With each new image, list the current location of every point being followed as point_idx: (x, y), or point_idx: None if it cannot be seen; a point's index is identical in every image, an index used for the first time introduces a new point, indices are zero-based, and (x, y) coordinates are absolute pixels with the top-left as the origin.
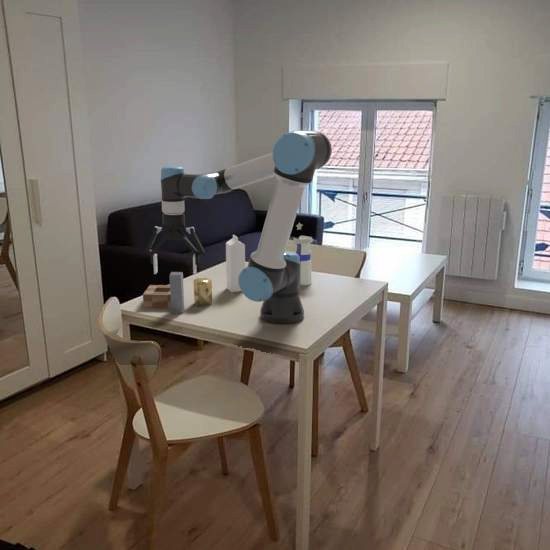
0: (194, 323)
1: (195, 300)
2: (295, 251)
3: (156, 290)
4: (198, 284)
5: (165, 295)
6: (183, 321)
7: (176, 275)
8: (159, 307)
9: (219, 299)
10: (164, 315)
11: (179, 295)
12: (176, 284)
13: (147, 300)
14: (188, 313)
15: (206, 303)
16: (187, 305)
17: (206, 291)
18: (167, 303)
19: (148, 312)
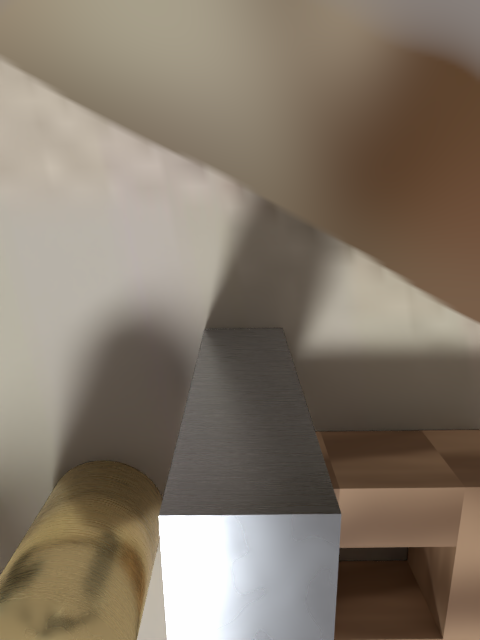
0: (76, 120)
1: (142, 500)
2: None
3: (435, 613)
4: (70, 587)
5: (353, 484)
6: (166, 163)
7: (231, 511)
8: (376, 432)
9: None
10: (321, 286)
11: (213, 379)
12: (236, 434)
13: (476, 457)
14: (164, 329)
15: (69, 478)
16: None
17: (30, 541)
18: (327, 447)
19: (438, 343)
